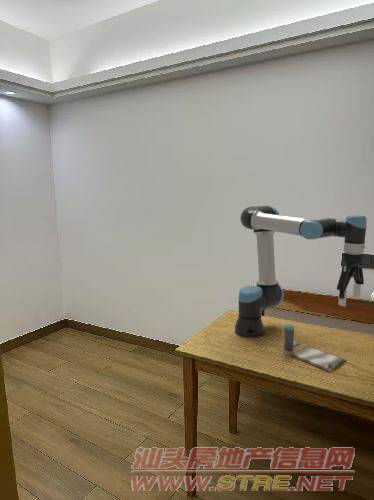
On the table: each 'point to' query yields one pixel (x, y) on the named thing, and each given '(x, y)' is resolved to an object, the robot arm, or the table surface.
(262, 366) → the table surface
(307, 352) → the clipboard
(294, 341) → the word card
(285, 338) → the marker
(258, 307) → the robot arm
